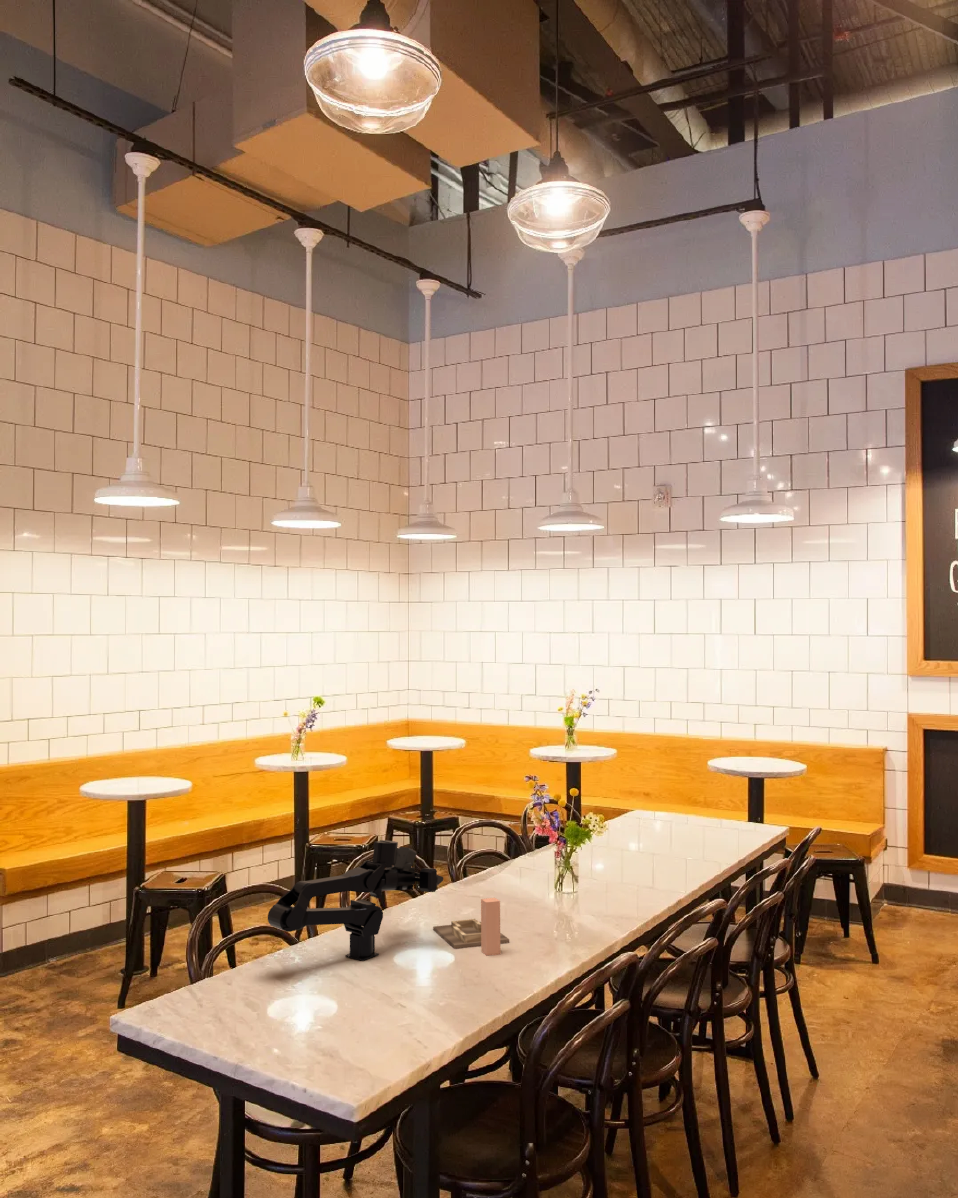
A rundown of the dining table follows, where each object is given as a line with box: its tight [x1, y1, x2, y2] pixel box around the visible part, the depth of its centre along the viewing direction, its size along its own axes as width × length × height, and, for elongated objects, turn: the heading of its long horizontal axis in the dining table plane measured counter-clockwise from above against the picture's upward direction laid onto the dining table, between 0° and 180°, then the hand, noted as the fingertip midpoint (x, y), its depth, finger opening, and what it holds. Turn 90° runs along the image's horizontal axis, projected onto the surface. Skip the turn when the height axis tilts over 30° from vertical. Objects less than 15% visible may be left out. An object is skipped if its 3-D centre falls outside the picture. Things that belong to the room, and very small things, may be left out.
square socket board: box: [432, 918, 510, 950], centre depth 286 cm, size 20×16×3 cm
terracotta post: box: [480, 897, 501, 957], centre depth 270 cm, size 4×4×14 cm
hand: (431, 878), depth 288 cm, fingers open, 9 cm apart
